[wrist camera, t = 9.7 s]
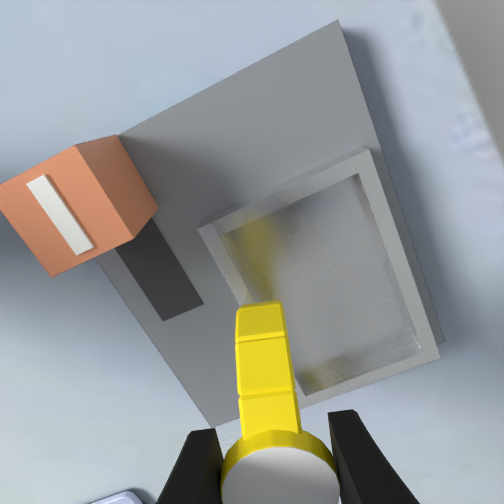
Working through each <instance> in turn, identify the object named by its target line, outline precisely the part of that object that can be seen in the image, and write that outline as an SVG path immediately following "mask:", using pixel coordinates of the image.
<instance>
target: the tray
mask: <svg viewBox="0 0 504 504" xmlns="http://www.w3.org/2000/svg"><path fill="white" fill-rule="evenodd" d="M197 230H198V232H199V233H200V235H201V237H202V239H203V240H204V242H205V244H206V246H207V248H208V249H209V251H210V253H211V255H212V257H213V258H214V260H215V262H216V264H217V266H218V267H219V269H220V271H221V273H222V275H223V276H224V278H225V280H226V282H227V284H228V285H229V287H230V289H231V291H232V292H233V294H234V296H235V298H236V300H237V301H238V303H239V305H240V307H241V306H242V305H245V304H252V303H260V302H268V301H276V300H279V301H280V302H282V305H283V309H284V314H285V320H286V326H287V332H288V339H289V345H290V352H291V358H292V365H293V371H294V378H295V385H296V388H295V391H296V392H297V399H298V406H299V410H300V409H303V408H305V407H308V406H311V405H313V404H316V403H319V402H322V401H324V400H327V399H330V398H333V397H335V396H338V395H341V394H343V393H346V392H349V391H352V390H354V389H357V388H360V387H363V386H365V385H368V384H371V383H373V382H376V381H379V380H382V379H384V378H387V377H390V376H393V375H395V374H398V373H401V372H403V371H406V370H409V369H412V368H414V367H417V366H420V365H423V364H425V363H428V362H431V361H433V360H436V359H439V358H441V357H440V354H439V351H438V348H437V345H436V342H435V339H434V337H433V334H432V331H431V328H430V325H429V322H428V319H427V316H426V313H425V310H424V307H423V305H422V302H421V299H420V296H419V293H418V290H417V287H416V284H415V281H414V278H413V275H412V273H411V270H410V267H409V264H408V261H407V258H406V255H405V252H404V249H403V246H402V244H401V241H400V238H399V235H398V232H397V229H396V226H395V223H394V220H393V217H392V214H391V212H390V209H389V206H388V203H387V200H386V197H385V194H384V191H383V188H382V185H381V182H380V180H379V177H378V174H377V171H376V168H375V165H374V162H373V159H372V156H371V153H370V150H369V149H367V148H364V147H362V146H360V147H358V148H356V149H354V150H351V151H349V152H347V153H345V154H343V155H341V156H339V157H336V158H334V159H332V160H330V161H328V162H326V163H324V164H321V165H319V166H317V167H315V168H313V169H311V170H309V171H307V172H304V173H302V174H300V175H298V176H296V177H294V178H292V179H289V180H287V181H285V182H283V183H281V184H279V185H277V186H274V187H272V188H270V189H268V190H266V191H264V192H262V193H260V194H257V195H255V196H253V197H251V198H249V199H247V200H245V201H242V202H240V203H238V204H236V205H234V206H232V207H230V208H227V209H225V210H223V211H221V212H219V213H217V214H215V215H213V216H210V217H208V218H206V219H204V220H202V221H200V223H199V226H198V229H197Z"/></svg>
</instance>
